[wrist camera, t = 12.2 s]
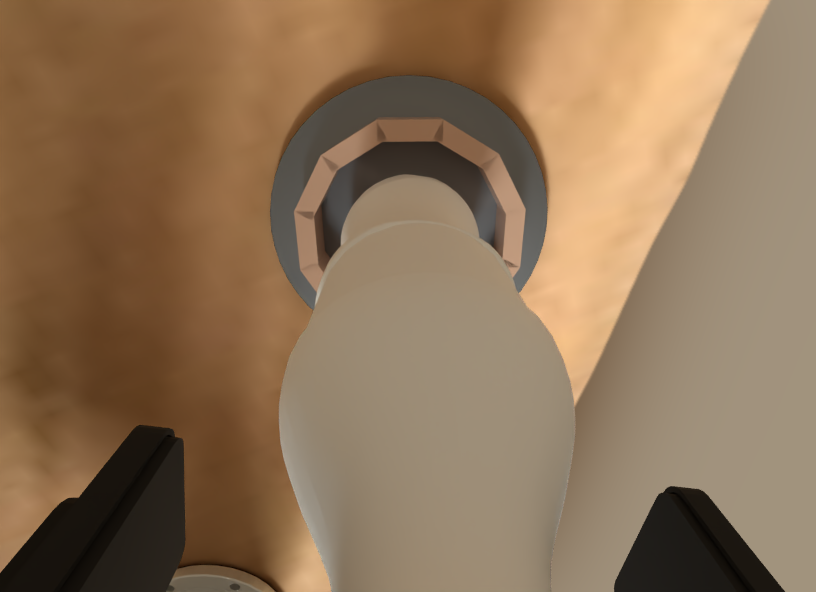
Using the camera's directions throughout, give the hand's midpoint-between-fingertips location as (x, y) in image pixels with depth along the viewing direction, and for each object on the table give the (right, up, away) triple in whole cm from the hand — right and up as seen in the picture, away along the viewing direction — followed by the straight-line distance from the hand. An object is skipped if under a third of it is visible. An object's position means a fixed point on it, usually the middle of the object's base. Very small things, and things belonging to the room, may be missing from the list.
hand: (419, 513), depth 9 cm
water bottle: (0, +8, +18) cm, 20 cm away
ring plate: (0, +9, +19) cm, 21 cm away
